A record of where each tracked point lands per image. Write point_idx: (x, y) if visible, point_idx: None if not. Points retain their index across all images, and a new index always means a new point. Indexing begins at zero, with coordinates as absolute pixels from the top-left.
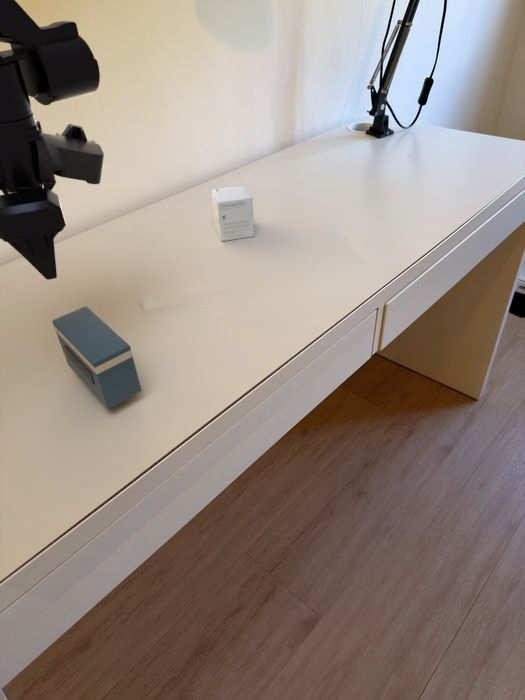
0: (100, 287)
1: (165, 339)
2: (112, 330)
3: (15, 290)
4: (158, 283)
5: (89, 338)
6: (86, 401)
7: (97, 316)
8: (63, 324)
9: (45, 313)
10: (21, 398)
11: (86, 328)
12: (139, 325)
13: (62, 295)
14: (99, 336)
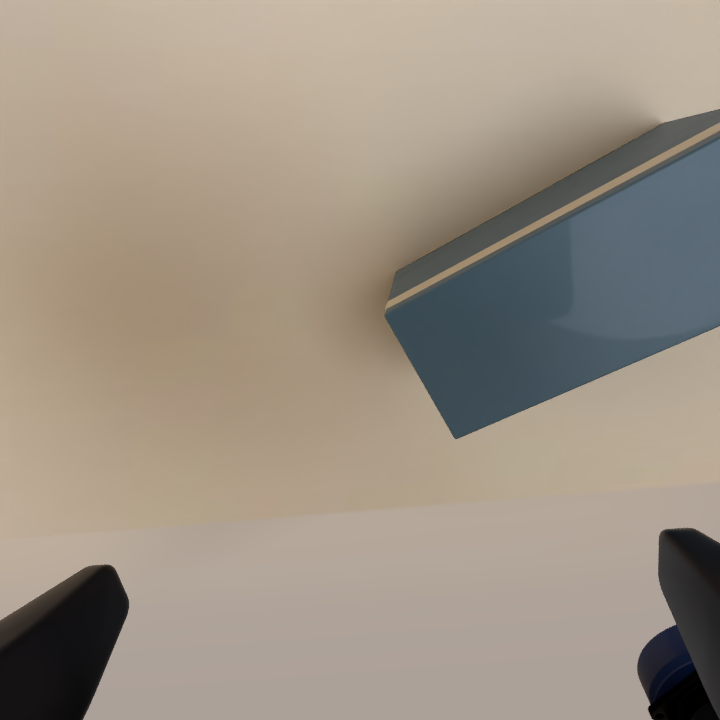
0: (49, 281)
1: (397, 26)
2: (639, 183)
3: (63, 513)
4: (23, 56)
5: (656, 289)
6: None
7: (488, 261)
8: (501, 397)
9: (181, 433)
10: (549, 463)
11: (567, 305)
12: (290, 135)
13: (92, 394)
14: (662, 245)
